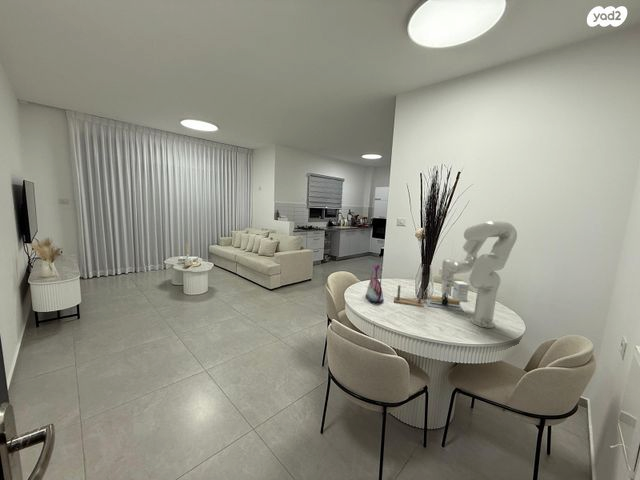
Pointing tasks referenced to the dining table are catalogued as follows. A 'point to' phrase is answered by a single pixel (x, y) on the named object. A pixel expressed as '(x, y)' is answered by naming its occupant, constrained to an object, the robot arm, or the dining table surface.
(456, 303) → the oak rail
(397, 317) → the dining table surface
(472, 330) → the dining table surface
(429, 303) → the slate mat
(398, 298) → the hook stand
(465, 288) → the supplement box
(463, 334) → the dining table surface
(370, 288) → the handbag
